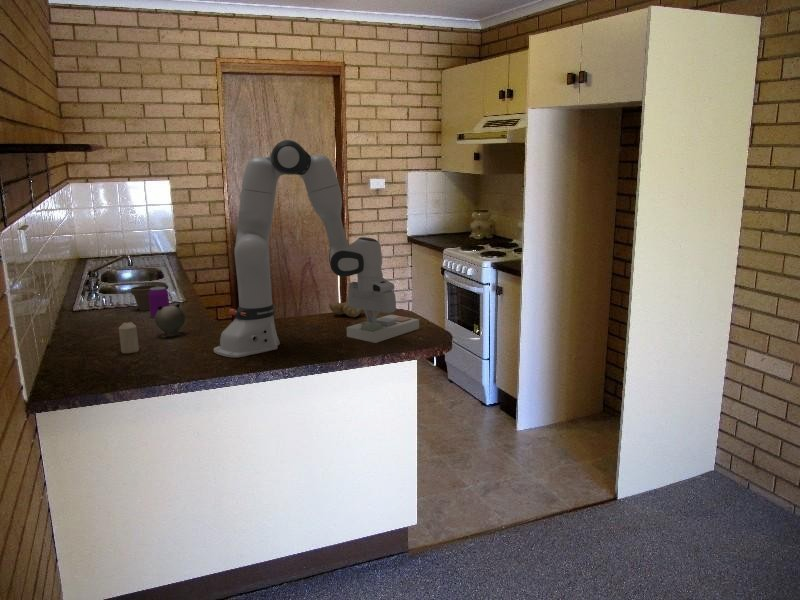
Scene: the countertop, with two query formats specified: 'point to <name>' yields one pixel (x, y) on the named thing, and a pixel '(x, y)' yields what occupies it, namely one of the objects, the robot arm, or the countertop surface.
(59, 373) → the countertop surface
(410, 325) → the keypad
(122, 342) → the candle
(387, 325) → the grey key
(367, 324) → the sage key
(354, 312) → the ginger root
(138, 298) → the flower pot
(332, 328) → the countertop surface
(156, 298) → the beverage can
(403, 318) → the terracotta key
